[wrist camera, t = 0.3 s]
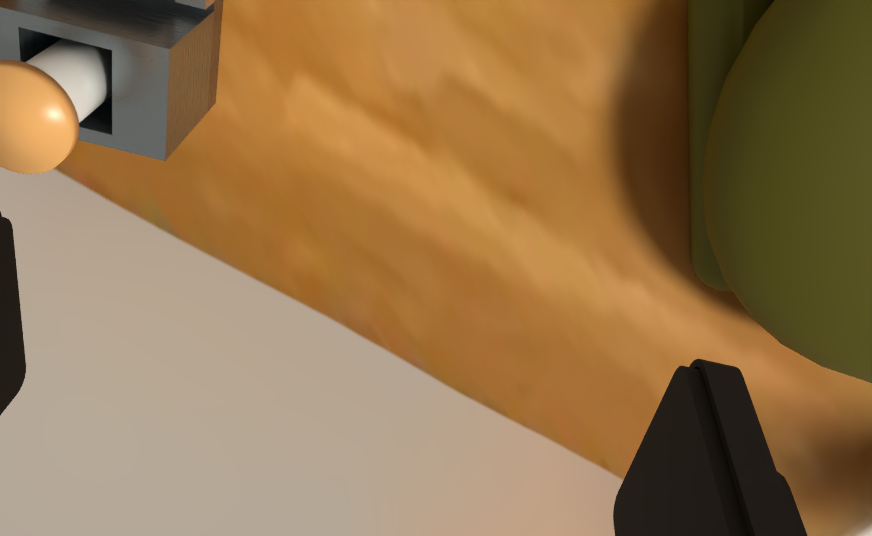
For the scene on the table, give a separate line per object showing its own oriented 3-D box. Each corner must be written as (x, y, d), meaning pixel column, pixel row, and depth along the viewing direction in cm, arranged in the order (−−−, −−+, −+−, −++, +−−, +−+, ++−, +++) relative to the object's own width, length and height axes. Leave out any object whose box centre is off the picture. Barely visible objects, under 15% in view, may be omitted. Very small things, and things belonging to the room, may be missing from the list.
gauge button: (44, 3, 41) (-51, 54, 34) (142, 27, 41) (67, 83, 34) (48, 95, 44) (-39, 159, 37) (140, 117, 44) (70, 185, 37)
